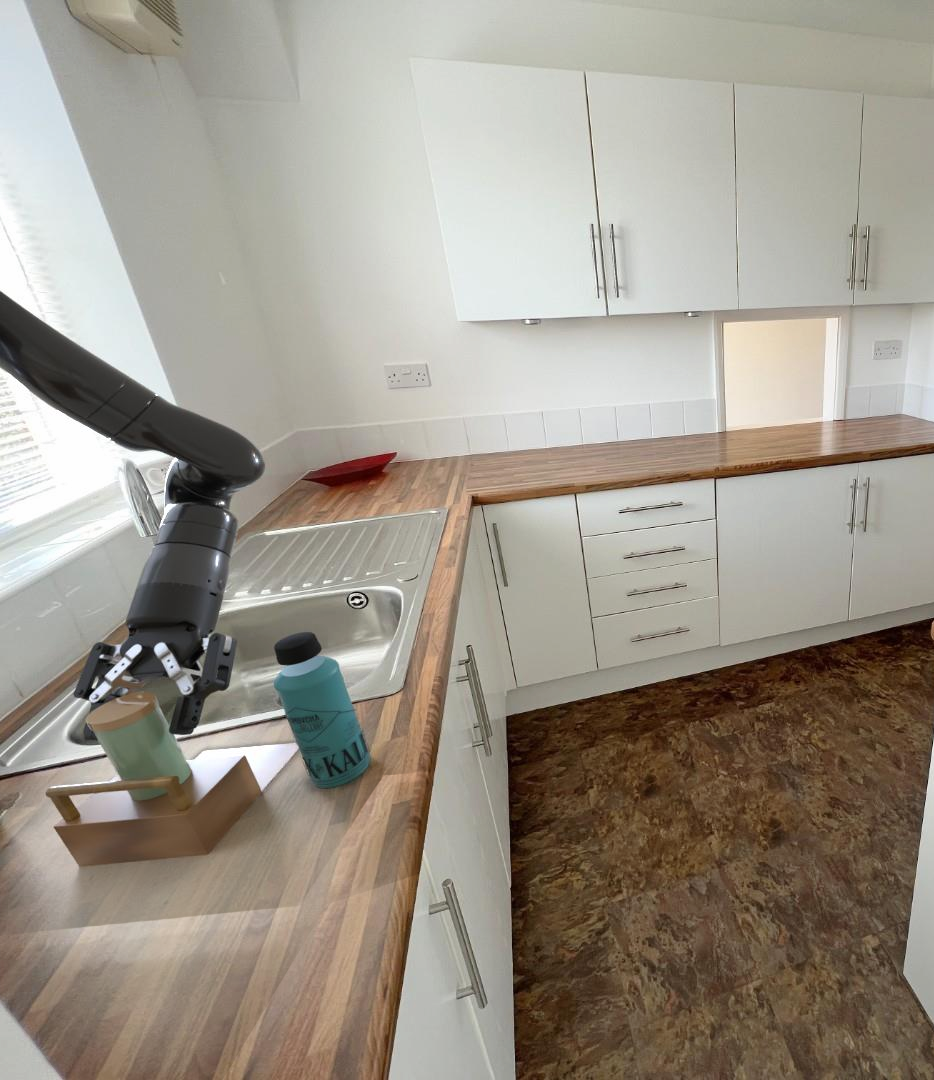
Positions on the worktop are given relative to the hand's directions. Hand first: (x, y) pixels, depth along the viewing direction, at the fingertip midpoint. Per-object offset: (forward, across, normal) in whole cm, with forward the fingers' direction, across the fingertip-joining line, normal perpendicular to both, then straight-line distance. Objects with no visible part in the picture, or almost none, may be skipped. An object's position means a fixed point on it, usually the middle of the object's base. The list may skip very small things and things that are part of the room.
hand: (138, 737), depth 61 cm
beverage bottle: (+5, +14, +14) cm, 20 cm away
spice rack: (+7, 0, +12) cm, 13 cm away
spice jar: (+4, 0, +4) cm, 6 cm away
